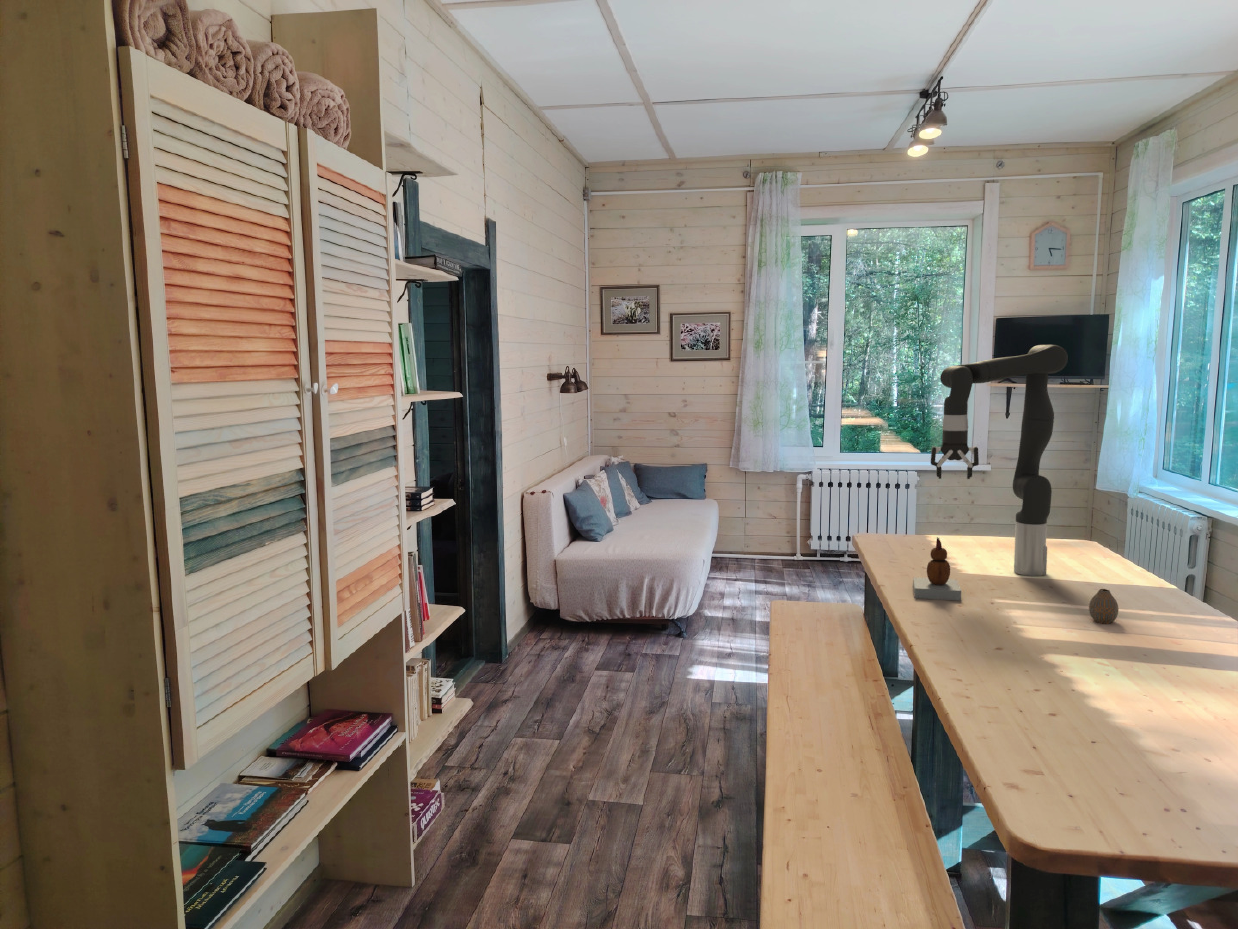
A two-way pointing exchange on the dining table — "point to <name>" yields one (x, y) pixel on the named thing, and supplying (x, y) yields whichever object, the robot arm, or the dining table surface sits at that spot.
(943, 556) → the wooden figurine
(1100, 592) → the vase
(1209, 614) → the dining table surface
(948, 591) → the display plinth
